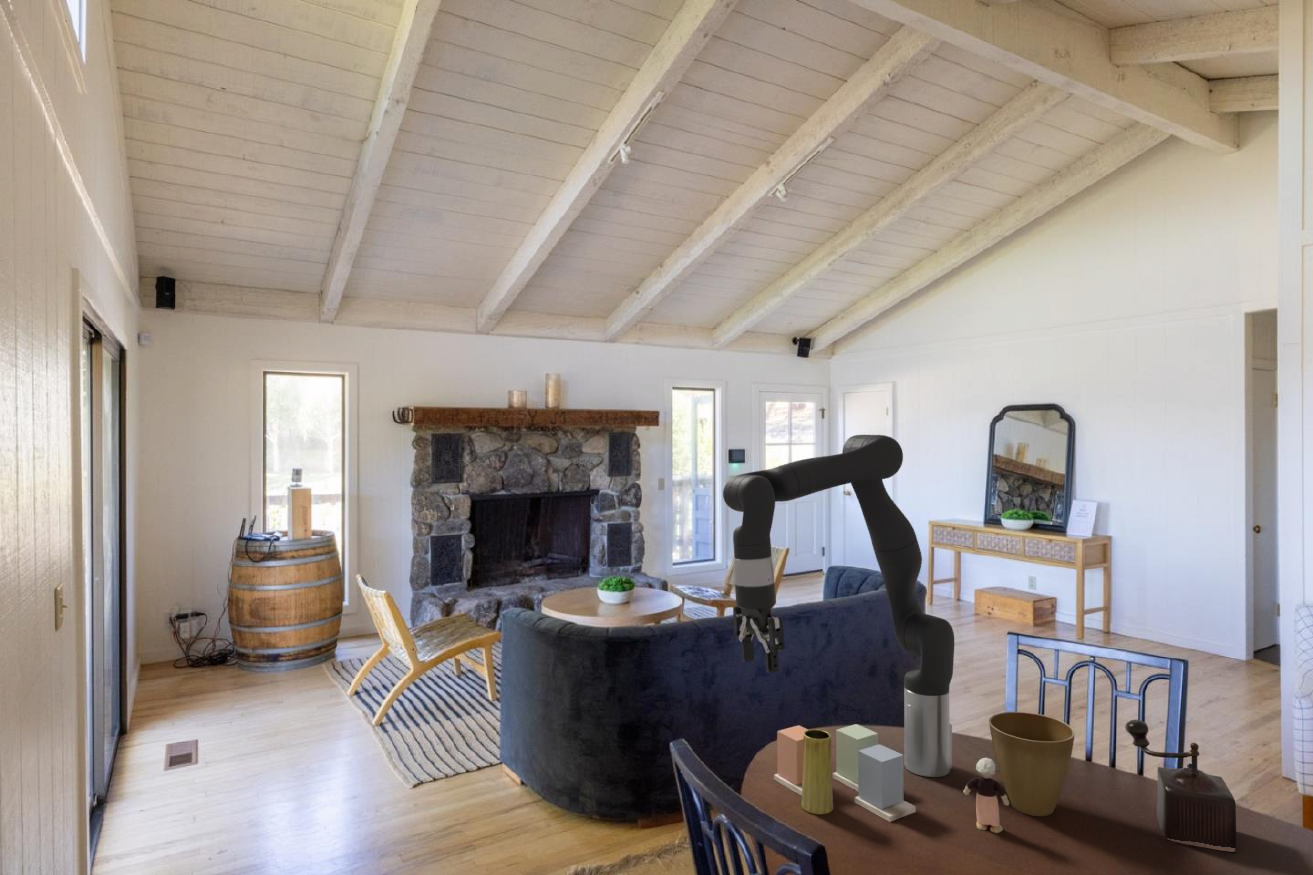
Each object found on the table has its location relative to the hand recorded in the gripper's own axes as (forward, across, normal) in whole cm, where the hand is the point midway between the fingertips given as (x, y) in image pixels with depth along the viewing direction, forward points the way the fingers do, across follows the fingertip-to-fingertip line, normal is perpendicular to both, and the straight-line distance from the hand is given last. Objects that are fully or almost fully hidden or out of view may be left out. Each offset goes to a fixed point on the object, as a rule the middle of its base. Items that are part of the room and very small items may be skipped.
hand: (760, 666), depth 142 cm
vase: (+30, 0, -11) cm, 31 cm away
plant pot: (+32, -17, -48) cm, 61 cm away
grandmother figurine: (+32, -19, -34) cm, 50 cm away
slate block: (+29, -5, -22) cm, 37 cm away
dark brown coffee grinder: (+34, -34, -65) cm, 81 cm away
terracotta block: (+28, +10, -14) cm, 33 cm away
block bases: (+30, +2, -20) cm, 36 cm away
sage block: (+29, +6, -25) cm, 39 cm away
